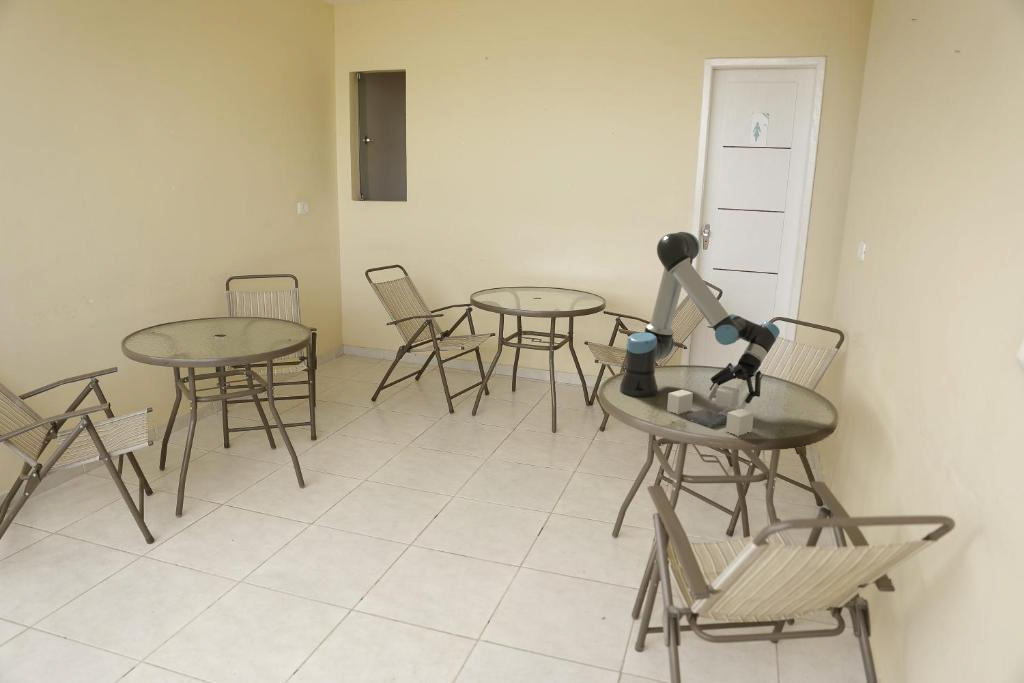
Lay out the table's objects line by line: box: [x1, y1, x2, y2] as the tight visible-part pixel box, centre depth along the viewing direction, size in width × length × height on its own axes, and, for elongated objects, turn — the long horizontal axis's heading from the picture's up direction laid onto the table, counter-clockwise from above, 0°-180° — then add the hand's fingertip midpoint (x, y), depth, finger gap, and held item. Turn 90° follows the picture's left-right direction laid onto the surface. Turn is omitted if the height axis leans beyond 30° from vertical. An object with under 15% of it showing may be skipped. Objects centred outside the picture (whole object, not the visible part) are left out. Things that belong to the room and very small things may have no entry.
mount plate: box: [686, 408, 727, 429], centre depth 248 cm, size 11×10×2 cm
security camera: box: [714, 385, 740, 416], centre depth 254 cm, size 6×7×10 cm
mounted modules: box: [666, 389, 755, 436], centre depth 247 cm, size 31×8×7 cm, turn 37°
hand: (724, 404), depth 252 cm, fingers open, 13 cm apart
